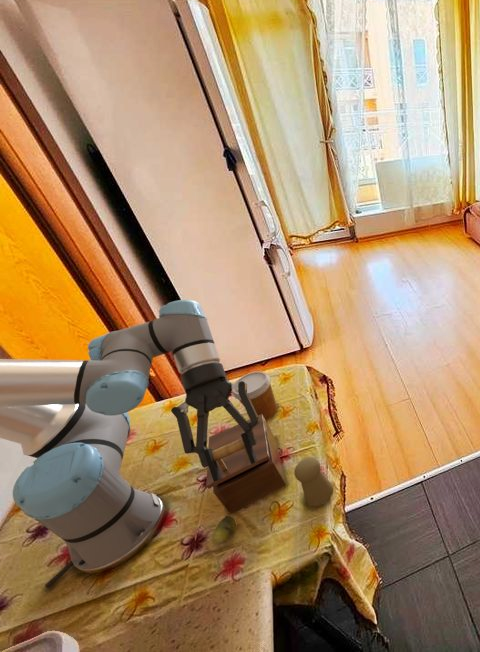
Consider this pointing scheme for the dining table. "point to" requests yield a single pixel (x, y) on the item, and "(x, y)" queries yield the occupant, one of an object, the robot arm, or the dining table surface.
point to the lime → (224, 530)
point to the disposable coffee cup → (259, 393)
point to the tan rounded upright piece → (313, 481)
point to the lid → (236, 451)
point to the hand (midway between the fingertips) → (236, 471)
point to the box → (253, 480)
